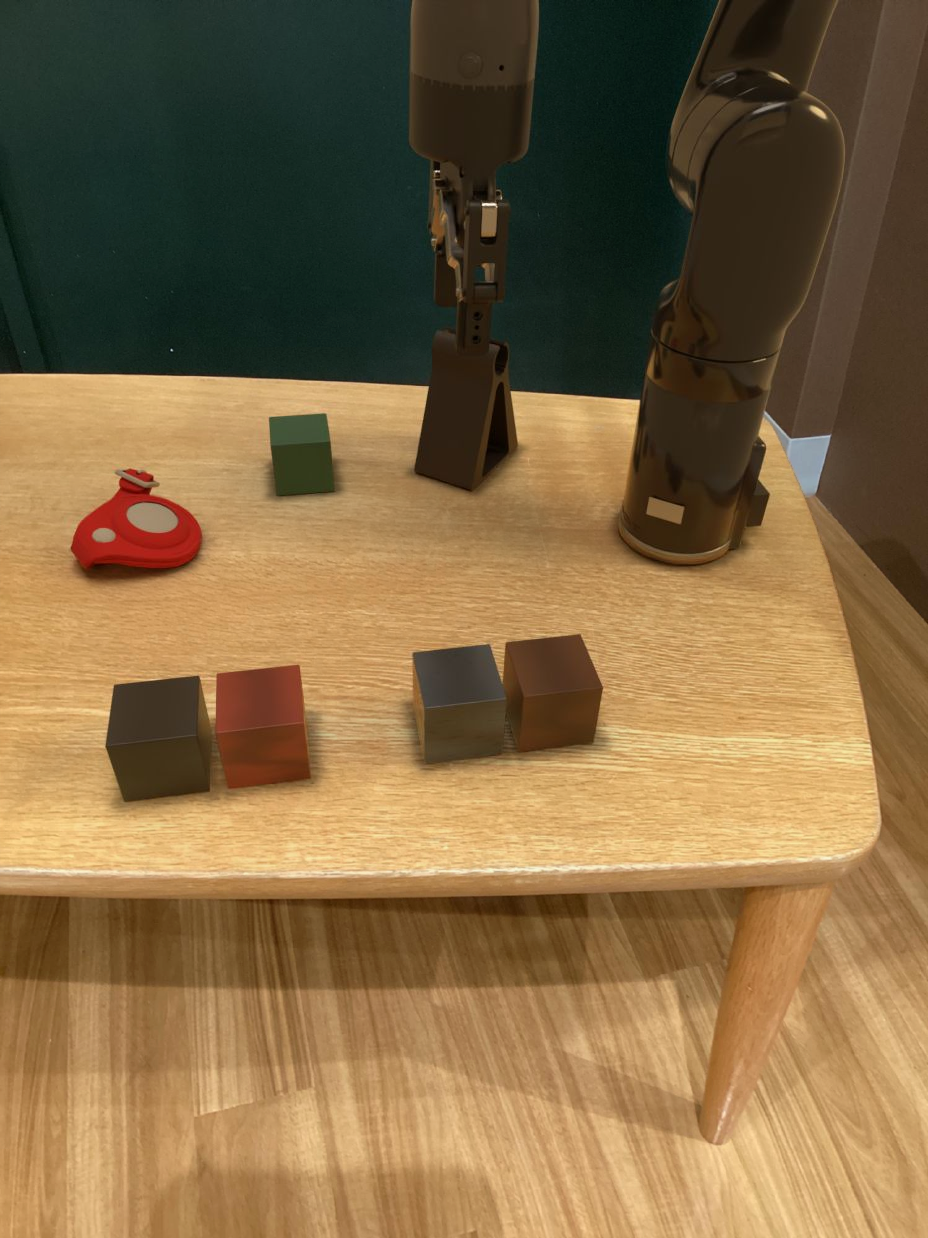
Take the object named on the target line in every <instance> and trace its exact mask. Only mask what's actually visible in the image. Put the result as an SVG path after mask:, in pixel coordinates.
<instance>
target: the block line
mask: <svg viewBox="0 0 928 1238" xmlns="http://www.w3.org/2000/svg"><path fill="white" fill-rule="evenodd" d="M411 656H412V658H411V659H412V661H411V662H412V663H411V665H412V666H411V667H412V709H413V714H414V719H415V725H416V728H417V734H418V737H419V738H418V739H419V744H420V748H421V754H422V758H423V763H424V765H428V764H436V763H437V764H438V763H444V762H452V761H461V760H467V759H475V758H476V759H477V758H483V757H490V756H498V755H499V756H500V755H503V754H504V740H505V728H506V716H507V720H508V723H509V726H510V730H511V732H512V737H513V740H514V743H515V746H516V749H517V752H518V753H522V752H531V751H538V750H547V749H555V748H562V747H569V746H577V745H585V744H593V743H594V742H595V737H596V732H597V726H598V719H599V715H600V709H601V703H602V698H603V697H602V696H603V691H604V686H603V683H602V681H601V679H600V677H599V674H598V672H597V670H596V667H595V665H594V662H593V660H592V658H591V656H590V653H589V651H588V649H587V646H586V644H585V642H584V639H583V636H582V634H580V633H578V634H577V633H576V634H568V635H559V636H551V637H541V638H540V637H539V638H531V639H530V638H529V639H522V640H514V641H506V642H505V643H504V655H503V656H504V659H503V670H502V679H501V675H500V672H499V669H498V666H497V662H496V660H495V656H494V653H493V649H492V646H491V644H490V643H486V644H476V645H467V646H458V647H449V648H437V649H429V650H420V651H412V653H411ZM301 672H302V671H301V665H300V664H292V665H291V664H290V665H281V666H273V667H265V668H264V667H261V668H254V669H245V670H243V669H242V670H236V671H234V670H233V671H227V672H226V671H225V672H218V673H216V681H215V682H216V683H215V689H216V690H215V725H214V726H215V728H214V729H215V730H214V731H215V732H214V733H215V734H214V735H215V739H216V743H217V747H218V751H219V756H220V761H221V765H222V770H223V774H224V778H225V779H224V780H225V784H226V788H227V790H232V789H241V788H247V787H256V786H265V785H271V784H279V783H288V782H294V781H303V780H304V781H305V780H310V779H312V773H311V761H310V760H311V759H310V747H309V734H308V721H307V713H306V712H307V711H306V706H305V698H304V697H305V696H304V689H303V682H302V674H301ZM111 695H112V696H111V703H110V709H109V716H108V723H107V725H108V726H107V730H106V731H107V732H106V738H105V745H104V747H105V750H106V752H107V755H108V759H109V761H110V764H111V767H112V770H113V773H114V776H115V780H116V782H117V786H118V789H119V791H120V794H121V798H122V800H123V802H124V803H130V802H137V801H146V800H153V799H161V798H169V797H176V796H184V795H191V794H192V795H193V794H199V793H200V794H201V793H207V792H210V791H211V783H212V782H211V781H212V780H211V779H212V778H211V777H212V744H213V743H212V741H213V740H212V737H213V731H212V725H211V720H210V716H209V712H208V708H207V703H206V698H205V694H204V689H203V685H202V681H201V677H200V675H190V676H181V677H172V678H162V679H153V680H144V681H135V682H125V683H115V684H114V685H113V688H112V694H111Z"/></svg>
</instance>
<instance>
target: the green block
mask: <svg viewBox="0 0 928 1238" xmlns="http://www.w3.org/2000/svg"><path fill="white" fill-rule="evenodd" d="M268 426H269V427H268V428H269V429H268V430H269V444H270V452H271V459H272V460H271V461H272V469H273V477H274V485H275V491H276V494H275V495H276V496H279V497H280V496H290V495H291V496H293V495H304V494H305V495H306V494H317V493H327V492H328V493H330V492H335V477H334V467H333V454H332V453H333V452H332V440H331V434H330V427H329V422H328V413H326V412H324V413H323V412H321V413H308V414H293V415H291V414H290V415H280V416H279V415H278V416H277V415H276V416H269V417H268Z"/></svg>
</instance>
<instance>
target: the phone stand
mask: <svg viewBox="0 0 928 1238" xmlns="http://www.w3.org/2000/svg"><path fill="white" fill-rule="evenodd" d="M455 336H456V328H453V327H448V326H445V325H444V326H442V330H440V329H437V330H436V332H435V334H434V336H433V339H432V344H431V371H430V377H429V383H428V389H427V393H426V399H425V404H424V405H425V406H424V412H423V416H422V422H421V428H420V435H419V439H418V440H419V441H418V445H417V452H416V457H415V463H414V468H413V469H414V470H413V471H414V472H415V473H418V474H421V475H424V476H427V477H431V478H433V479H436V480H438V481H439V480H440V481H443V482H444V483H445V482H446V483H449V484H451V485H455V486H458V487H461V488H464V489H467V490H471V491H474V490H476V489H477V488H478V487H479V486H480V485H481V484H482V483H483V482H484V481H485V480H486V479H487V478H488V477H489V476H490V475H491V474H492V473H493V472H494V471H495V470H496V469H497V468H499V467H500V466H501V464H502V463H504V462H505V461H506V460H507V459H508V458H509V457H510V456H511V455H512V454H513V453H514V452H516V450H517V449H518V446H519V441H518V433H517V427H516V419H515V413H514V412H515V411H514V406H513V405H514V404H513V399H512V390H511V384H510V376H509V375H510V374H509V361H510V354H511V353H510V352H511V351H510V344H509V343H508V342H507V341H503V340H501V339H500V340H499V339H496V338H492V337H490V342H489V350H488V352H487V353H486V354H485V355H479V356H461V355H459V354H458V352H457V350H456V348H455Z"/></svg>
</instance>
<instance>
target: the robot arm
mask: <svg viewBox="0 0 928 1238" xmlns="http://www.w3.org/2000/svg"><path fill="white" fill-rule="evenodd" d="M838 2H839V0H718V3H717V6H716V8H715V11H714V14H713V17H712V19H711V21H710V24H709V26H708V28H707V29H708V30H707V31H706V34H705V36H704V40H703V42H702V44H701V47H700V49H699V52H698V54H697V56H696V59H695V61H694V64H693V66H692V69H691V72H690V74H689V76H688V79H687V81H686V83H685V86H684V89H683V92H682V94H681V97H680V98H679V102H678V104H677V107H676V109H675V113H674V115H673V118H672V121H671V125H670V128H669V132H668V135H667V140H666V147H665V148H666V149H665V157H664V160H665V161H664V162H665V173H666V174H665V175H666V178H667V183H668V186H669V188H670V190H671V193H672V194H673V196H674V198H675V199H676V201H677V202H678V204H679V205H680V206H681V207H682V208H683V209H684V210H685V211H686V212H687V213H688V214H689V215H690V216H691V221H690V227H689V231H688V237H687V240H686V241H687V242H686V246H685V250H684V256H683V260H682V265H681V267H680V268H681V269H680V273H679V277H678V278H675V279H673V280H671V281H669V282H668V283H666V284H665V285H664V286H663V287H662V288H661V289H660V291H659V292H658V295H657V297H656V300H655V303H654V304H655V305H654V310H653V315H652V322H651V329H650V336H649V341H648V347H647V354H646V360H645V368H644V373H643V378H642V385H641V390H640V396H639V402H638V403H639V404H638V409H637V414H636V421H635V427H634V428H635V429H634V432H633V433H634V434H633V439H632V445H631V451H630V457H629V463H628V470H627V476H626V482H625V488H624V494H623V499H622V501H621V502H622V503H621V509H620V511H619V516H618V517H619V518H618V522H617V527H618V532H619V535H620V536H621V538H622V539H623V541H624V542H625V543H626V544H627V545H628V546H629V547H630V548H632V549H633V550H635V551H636V552H637V553H640V554H641V555H643V556H645V557H647V558H650V559H653V560H656V561H658V562H662V563H663V562H664V563H668V564H674V565H699V564H704V563H709V562H712V561H714V560H717V559H718V558H720V557H722V556H723V555H725V554H726V553H727V552H728V551H729V550H733V549H739V548H740V547H741V545H742V540H743V537H744V535H745V534H744V533H745V530H746V528H752V527H761V526H762V524H763V520H764V517H765V513H766V509H767V506H768V503H769V499H770V496H771V493H770V492H769V491H768V489H767V488H766V487H765V485H764V484H763V483H762V481H760V479H759V477H760V474H761V470H762V466H763V463H764V460H765V456H766V452H767V444H766V442H765V441H764V440H763V439H762V438H761V437H760V436H759V434H760V431H761V427H762V424H763V419H764V416H765V411H766V407H767V404H768V400H769V396H770V392H771V388H772V384H773V382H774V381H773V380H774V375H775V374H776V373H775V372H776V368H777V365H778V362H779V357H780V354H781V350H782V346H783V342H784V339H785V335H786V332H787V329H788V327H789V326H790V325H791V323H792V321H793V320H794V319H795V318H796V316H797V315H798V314H799V312H800V311H801V309H802V308H803V306H804V304H805V301H806V299H807V297H808V294H809V292H810V289H811V286H812V283H813V280H814V277H815V274H816V270H817V267H818V264H819V262H820V258H821V256H822V252H823V249H824V246H825V243H826V239H827V238H828V237H827V236H828V233H829V230H830V227H831V224H832V222H833V221H832V220H833V217H834V214H835V211H836V207H837V203H838V200H839V197H840V196H839V195H840V192H841V188H842V182H843V177H844V171H845V161H846V146H845V137H844V133H843V128H842V126H841V124H840V121H839V119H838V118H837V116H836V115H835V113H834V112H833V111H832V110H831V108H830V107H828V106H827V104H825V103H824V102H822V101H821V100H820V99H818V98H816V97H815V96H814V95H812V94H810V93H809V92H808V88H809V83H810V82H811V81H810V80H811V77H812V74H813V71H814V69H815V65H816V62H817V59H818V56H819V53H820V52H821V51H820V50H821V48H822V45H823V42H824V39H825V37H826V33H827V30H828V27H829V24H830V22H831V20H832V17H833V15H834V12H835V9H836V7H837V6H838ZM539 5H540V4H539V0H412V1H411V9H410V26H409V28H410V29H409V94H408V95H409V97H408V98H409V99H408V100H409V102H408V103H409V105H408V106H409V108H408V110H409V111H408V116H409V117H408V123H409V124H408V143H409V146H410V148H411V149H412V150H413V151H414V152H415V153H416V154H417V155H419V156H421V157H422V158H425V159H428V160H430V162H429V163H430V164H429V165H430V166H429V167H430V168H429V190H428V192H429V194H428V218H427V219H428V220H427V221H426V228H427V229H428V233H429V235H432V237H431V239H430V246H431V247H432V250H433V252H435V253H434V269H433V270H434V271H433V272H434V274H433V275H434V276H433V300H434V303H435V305H436V306H437V307H438V308H456V315H455V316H456V317H455V318H456V319H455V329H456V336H455V348H456V350H457V352H458V354H459V355H461V356H479V355H485V354H486V353H487V352H488V350H489V342H490V338H491V328H492V327H491V326H492V313H493V303H502V302H504V299H505V296H506V274H507V257H508V243H509V228H510V227H509V226H510V216H511V212H512V207H511V205H510V201H509V200H508V199H503V193H502V190H501V189H497V185H496V184H497V182H496V180H497V178H496V171H497V169H498V168H499V167H500V166H502V165H503V164H506V163H507V164H511V163H514V162H517V161H519V160H521V159H522V158H523V157H524V156H526V154H527V152H528V151H529V147H530V145H529V144H530V135H531V123H532V113H533V100H534V90H535V79H536V78H535V77H536V76H535V75H536V66H537V65H536V64H537V53H538V42H539V31H540V29H539V28H540V6H539ZM476 267H482V268H483V270H484V280H485V281H484V280H483V281H482V280H481V281H475V274H476V273H475V271H476Z"/></svg>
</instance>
